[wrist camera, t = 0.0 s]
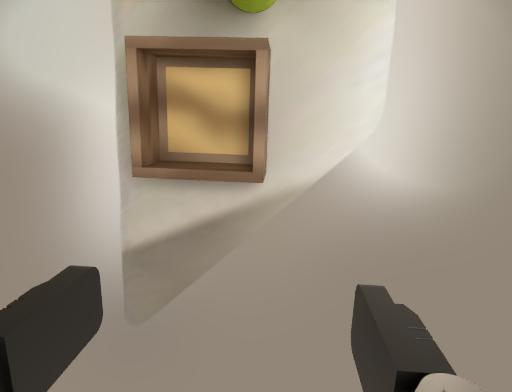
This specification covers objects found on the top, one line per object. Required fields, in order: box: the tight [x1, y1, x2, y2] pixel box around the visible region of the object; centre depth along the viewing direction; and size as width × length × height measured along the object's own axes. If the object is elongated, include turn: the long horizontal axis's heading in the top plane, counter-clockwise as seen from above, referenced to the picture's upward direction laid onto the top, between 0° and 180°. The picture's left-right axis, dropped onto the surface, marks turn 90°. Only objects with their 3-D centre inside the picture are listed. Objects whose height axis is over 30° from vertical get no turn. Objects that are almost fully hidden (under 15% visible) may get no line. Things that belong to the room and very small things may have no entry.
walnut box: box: [125, 36, 271, 183], centre depth 35 cm, size 13×13×6 cm
